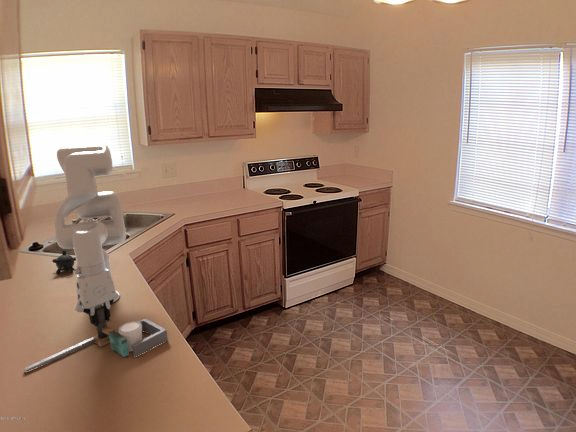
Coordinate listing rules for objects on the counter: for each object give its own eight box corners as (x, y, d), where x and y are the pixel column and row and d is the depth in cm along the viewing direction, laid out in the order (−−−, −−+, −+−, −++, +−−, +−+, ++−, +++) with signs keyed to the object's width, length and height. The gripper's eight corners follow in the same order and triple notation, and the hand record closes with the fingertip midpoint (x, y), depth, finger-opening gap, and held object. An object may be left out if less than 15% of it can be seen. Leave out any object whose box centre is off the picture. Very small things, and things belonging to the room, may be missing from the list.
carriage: (94, 342, 127) (88, 308, 124) (107, 335, 130) (101, 302, 127) (119, 360, 117) (113, 323, 114) (133, 352, 121) (128, 317, 117)
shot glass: (120, 355, 120) (116, 334, 118) (122, 342, 127) (119, 323, 125) (144, 350, 122) (141, 330, 120) (144, 338, 129) (142, 319, 127)
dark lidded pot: (43, 272, 179) (50, 256, 189) (66, 283, 184) (71, 267, 194) (57, 256, 176) (64, 242, 187) (79, 268, 182) (85, 253, 192)
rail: (24, 371, 114) (23, 368, 113) (105, 334, 132) (105, 331, 131) (26, 373, 113) (25, 370, 113) (107, 336, 131) (107, 332, 130)
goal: (114, 344, 126) (112, 332, 125) (146, 328, 134) (144, 318, 133) (135, 358, 119) (134, 346, 117) (167, 341, 127) (166, 329, 126)
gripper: (69, 280, 112) (79, 338, 117) (123, 262, 125) (131, 315, 129) (58, 274, 117) (69, 329, 122) (111, 257, 129) (119, 308, 134)
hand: (101, 321), depth 125 cm, fingers closed on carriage, 3 cm apart
